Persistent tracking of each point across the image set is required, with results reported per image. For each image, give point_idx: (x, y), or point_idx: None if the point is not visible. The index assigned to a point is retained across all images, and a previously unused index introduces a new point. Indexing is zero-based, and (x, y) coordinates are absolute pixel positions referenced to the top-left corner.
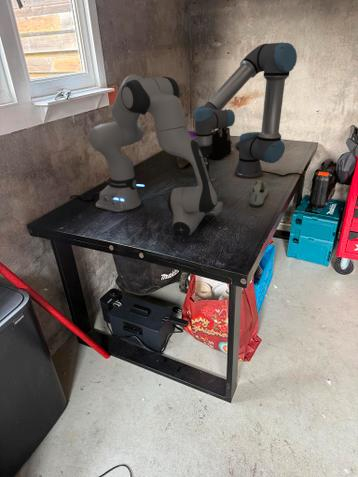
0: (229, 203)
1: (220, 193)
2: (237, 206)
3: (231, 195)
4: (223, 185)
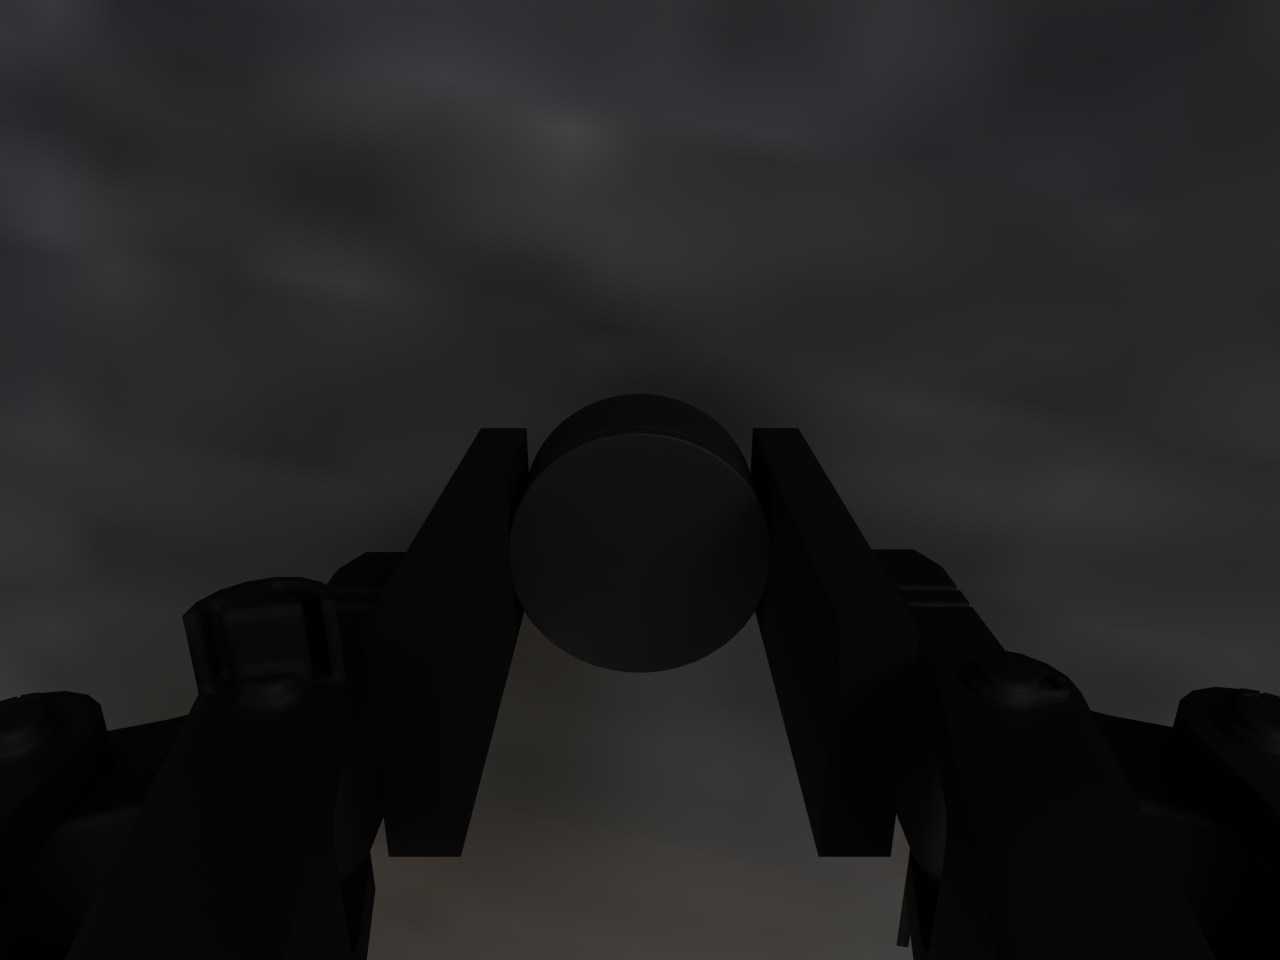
0: None
1: None
2: None
3: (656, 957)
4: None
